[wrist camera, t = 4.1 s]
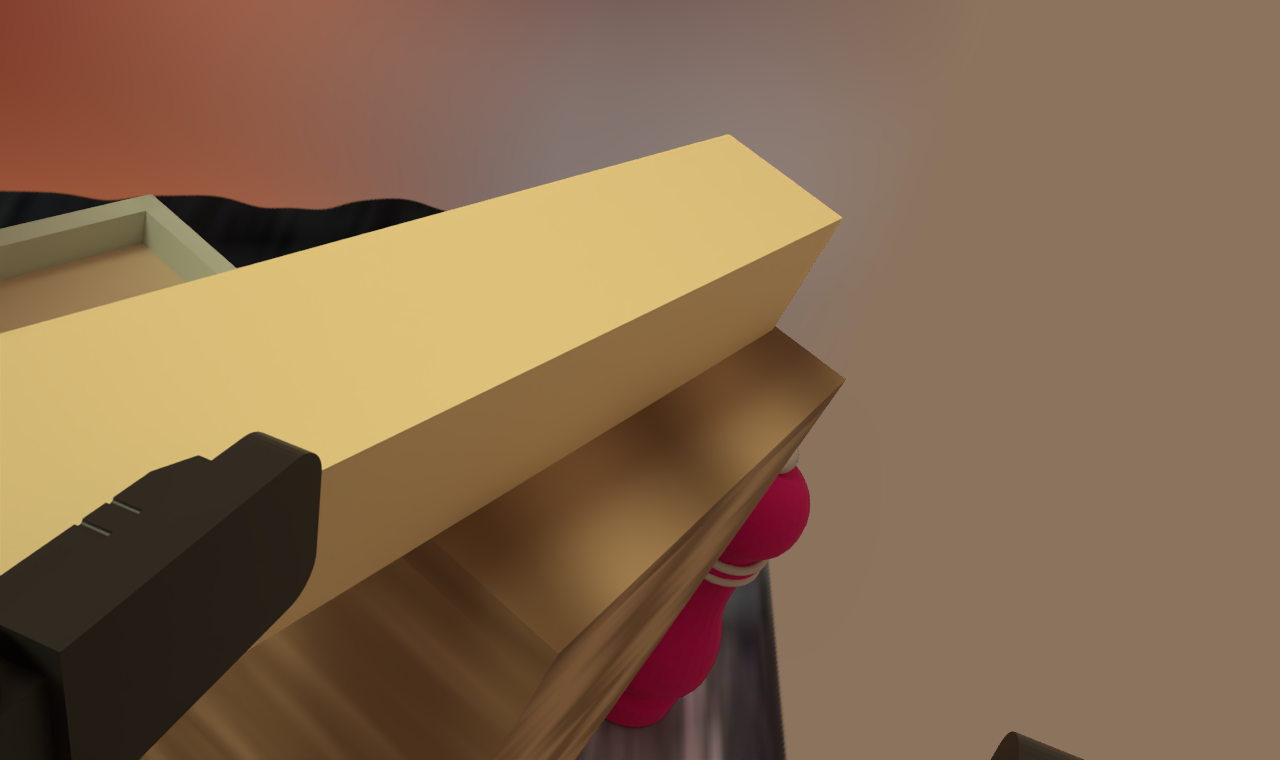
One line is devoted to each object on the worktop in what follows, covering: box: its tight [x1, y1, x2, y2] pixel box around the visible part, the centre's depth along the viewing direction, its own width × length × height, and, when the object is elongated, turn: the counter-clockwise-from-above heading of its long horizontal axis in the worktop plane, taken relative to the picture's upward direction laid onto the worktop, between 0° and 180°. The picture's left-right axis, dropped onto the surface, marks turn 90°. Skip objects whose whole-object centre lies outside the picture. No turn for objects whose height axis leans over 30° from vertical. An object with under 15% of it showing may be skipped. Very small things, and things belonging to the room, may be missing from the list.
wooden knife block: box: [139, 327, 846, 760], centre depth 34 cm, size 14×10×32 cm
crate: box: [0, 194, 237, 333], centre depth 37 cm, size 18×12×22 cm, turn 147°
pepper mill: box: [605, 448, 810, 727], centre depth 53 cm, size 7×7×20 cm
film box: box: [0, 134, 842, 651], centre depth 20 cm, size 22×4×4 cm, turn 144°
